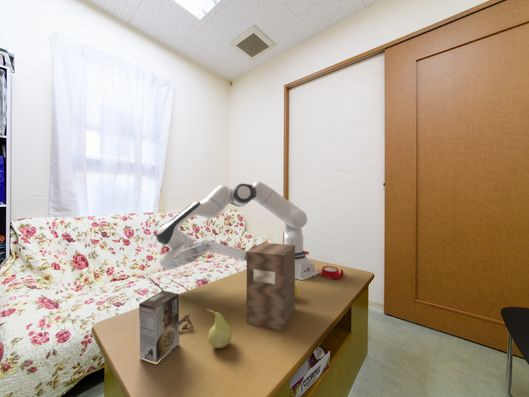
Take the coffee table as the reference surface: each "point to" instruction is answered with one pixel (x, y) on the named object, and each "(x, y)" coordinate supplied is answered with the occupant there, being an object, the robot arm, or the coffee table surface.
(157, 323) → the coffee box
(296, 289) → the tennis ball
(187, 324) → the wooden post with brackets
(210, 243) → the aluminium bar
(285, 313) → the brown patterned box
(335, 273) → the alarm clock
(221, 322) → the fruit
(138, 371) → the coffee table surface
